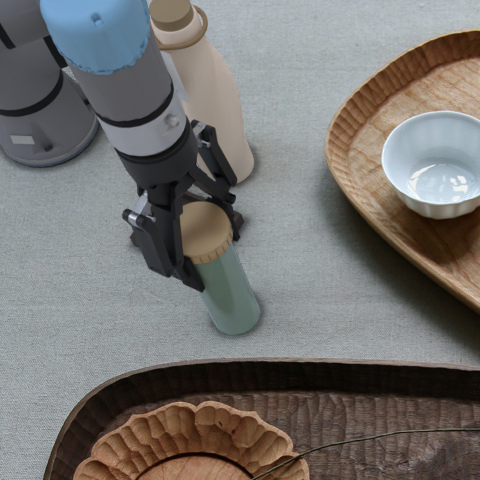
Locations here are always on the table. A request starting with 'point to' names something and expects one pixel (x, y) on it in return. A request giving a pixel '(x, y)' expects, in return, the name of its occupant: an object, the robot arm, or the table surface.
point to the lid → (204, 232)
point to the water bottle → (201, 79)
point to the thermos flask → (228, 294)
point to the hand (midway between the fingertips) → (212, 260)
